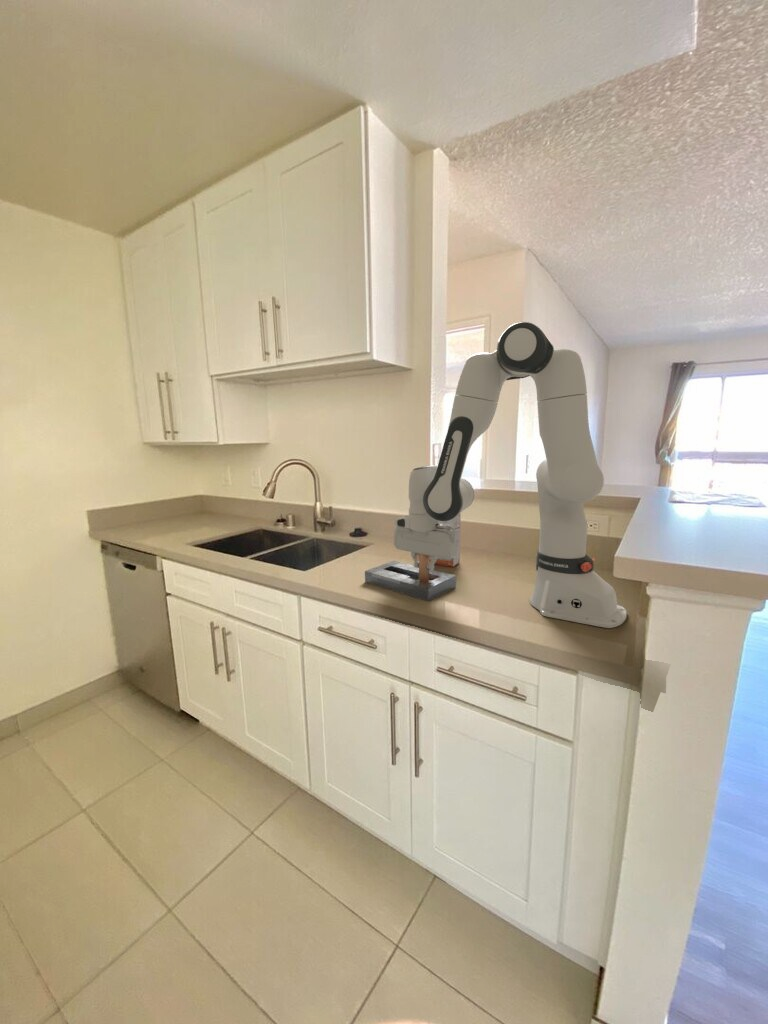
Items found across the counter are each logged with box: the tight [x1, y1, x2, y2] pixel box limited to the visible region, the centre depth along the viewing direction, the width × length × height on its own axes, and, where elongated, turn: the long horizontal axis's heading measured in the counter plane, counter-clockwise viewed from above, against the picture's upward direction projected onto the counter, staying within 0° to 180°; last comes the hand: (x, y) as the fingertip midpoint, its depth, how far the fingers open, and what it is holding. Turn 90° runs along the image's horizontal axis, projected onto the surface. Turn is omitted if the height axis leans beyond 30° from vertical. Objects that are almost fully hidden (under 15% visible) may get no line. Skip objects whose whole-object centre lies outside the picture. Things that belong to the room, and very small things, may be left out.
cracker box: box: [418, 512, 462, 568], centre depth 146 cm, size 14×6×21 cm, turn 55°
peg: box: [418, 554, 431, 583], centre depth 121 cm, size 5×5×11 cm
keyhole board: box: [364, 560, 457, 602], centre depth 126 cm, size 24×14×4 cm, turn 48°
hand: (424, 568), depth 121 cm, fingers closed on peg, 3 cm apart
